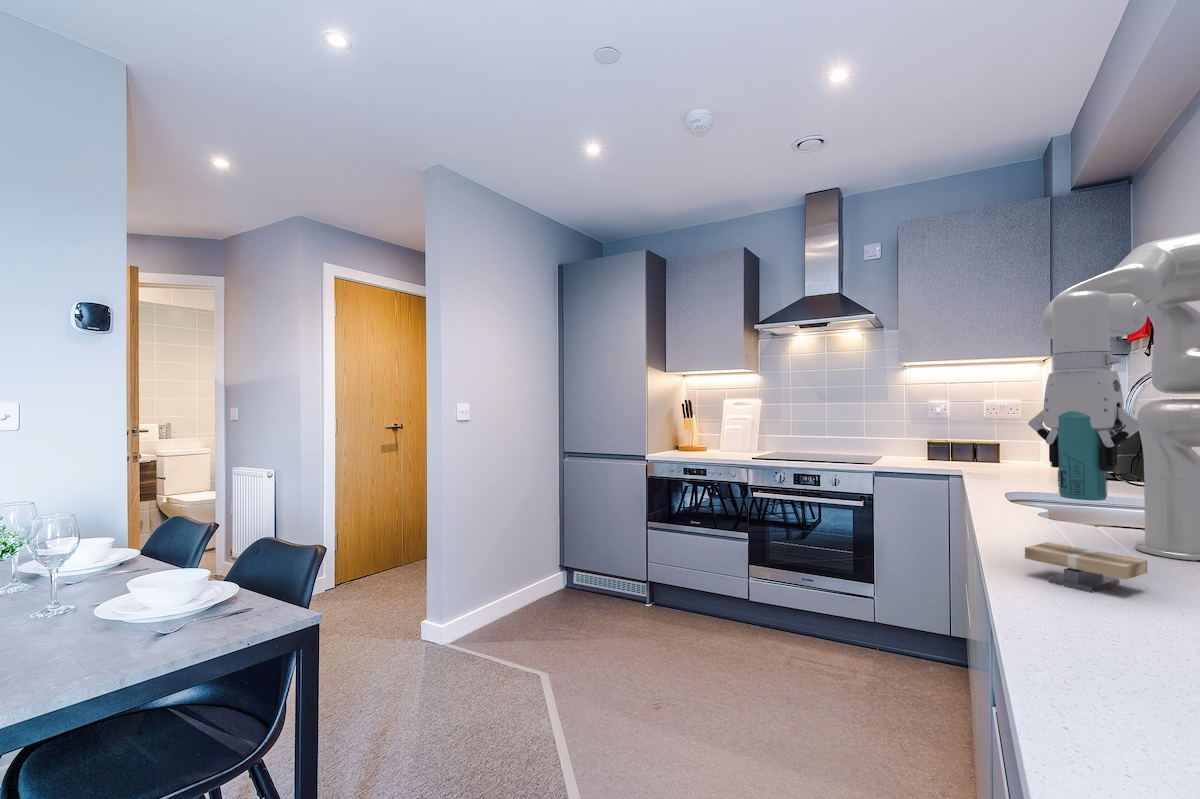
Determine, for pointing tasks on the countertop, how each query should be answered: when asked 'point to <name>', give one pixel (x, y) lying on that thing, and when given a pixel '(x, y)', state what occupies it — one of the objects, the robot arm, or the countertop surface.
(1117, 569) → the beam
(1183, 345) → the robot arm
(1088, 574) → the fulcrum
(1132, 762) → the countertop surface
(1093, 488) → the beverage bottle
